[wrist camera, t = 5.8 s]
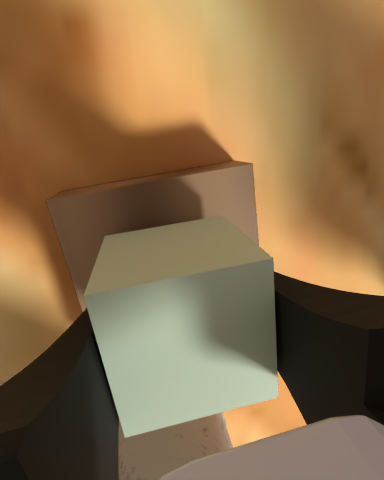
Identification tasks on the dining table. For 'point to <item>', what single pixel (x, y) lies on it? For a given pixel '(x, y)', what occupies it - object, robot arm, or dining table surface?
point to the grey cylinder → (170, 447)
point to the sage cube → (184, 322)
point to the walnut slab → (149, 209)
